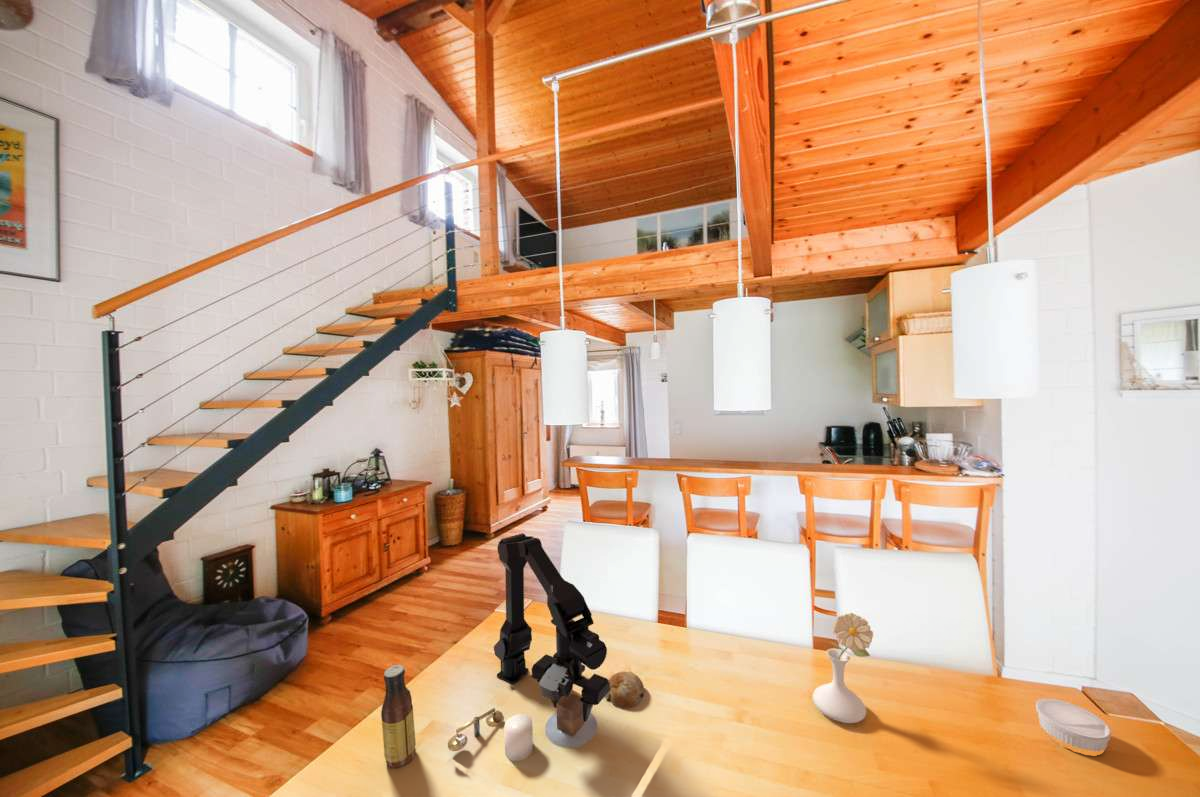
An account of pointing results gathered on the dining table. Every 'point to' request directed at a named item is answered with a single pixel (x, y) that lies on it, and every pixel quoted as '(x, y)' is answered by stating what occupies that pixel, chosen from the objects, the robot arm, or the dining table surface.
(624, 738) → the dining table surface
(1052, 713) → the ramekin
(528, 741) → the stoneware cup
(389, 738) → the sauce bottle
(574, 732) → the walnut block
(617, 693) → the bread roll
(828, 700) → the flower in vase
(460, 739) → the balance
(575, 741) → the dish
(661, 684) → the dining table surface
